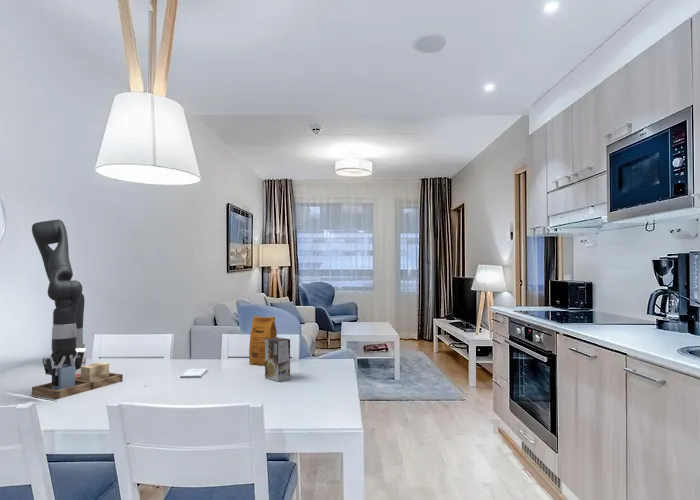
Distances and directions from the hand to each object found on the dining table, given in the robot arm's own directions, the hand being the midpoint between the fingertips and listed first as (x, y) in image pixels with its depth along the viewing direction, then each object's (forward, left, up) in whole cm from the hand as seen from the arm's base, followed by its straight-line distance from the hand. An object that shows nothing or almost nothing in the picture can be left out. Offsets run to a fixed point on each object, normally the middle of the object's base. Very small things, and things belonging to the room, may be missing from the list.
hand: (63, 383), depth 160 cm
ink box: (-17, -16, -4) cm, 23 cm away
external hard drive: (-41, +22, -4) cm, 47 cm away
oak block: (-12, 0, -3) cm, 13 cm away
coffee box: (-50, +58, -4) cm, 76 cm away
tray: (-6, 0, -4) cm, 7 cm away
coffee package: (-71, +36, -4) cm, 79 cm away
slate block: (0, 0, -2) cm, 2 cm away
